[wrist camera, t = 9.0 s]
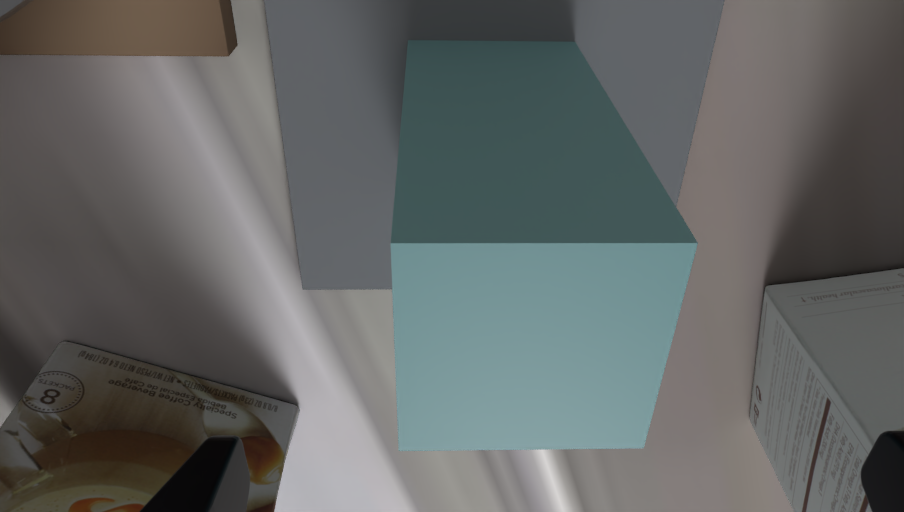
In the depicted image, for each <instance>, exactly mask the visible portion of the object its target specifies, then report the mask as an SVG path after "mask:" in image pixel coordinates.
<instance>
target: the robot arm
mask: <svg viewBox="0 0 904 512" xmlns="http://www.w3.org/2000/svg"><path fill="white" fill-rule="evenodd" d="M861 483H862V486H863V489H864V492H865V495H866V497H867V500H868V503H869V505H870V508H871V511H872V512H904V431H885V432H883V433H881V434H880V435H879V437H878V438H877V440H876V442H875V443H874V445H873V447H872V449H871V451H870V453H869V454H868V456H867V458H866V460H865V462H864V463H863V465H862V468H861ZM249 490H250V473H249V469H248V464H247V460H246V456H245V451H244V447H243V443H242V440H241V439H240V437H238V436H235V435H220V436H211V437H209V438H207V439H206V440H205V441H204V442H203V443H202V444H201V445H200V446H199V447H198V448H197V449H196V451H195V452H194V453H193V454H192V455H191V456H190V457H189V458H188V459H187V460H186V461H185V462H184V464H183V465H182V466H181V467H180V468H179V469H178V470H177V471H176V472H175V473H174V474H173V475H172V477H171V478H170V479H169V480H168V481H167V482H166V483H165V484H164V485H163V486H162V487H161V488H160V490H159V491H158V492H157V493H156V494H155V495H154V496H153V497H152V498H151V499H150V500H149V501H148V503H147V504H146V505H145V506H144V507H143V508H142V509H141V510H140V511H139V512H246V509H247V503H248V496H249Z"/></svg>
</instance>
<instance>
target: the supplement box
mask: <svg viewBox="0 0 904 512" xmlns="http://www.w3.org/2000/svg"><path fill="white" fill-rule="evenodd" d="M750 422H751V424H752V426H753V428H754V430H755V432H756V434H757V437H758V439H759V441H760V443H761V445H762V447H763V449H764V451H765V453H766V455H767V457H768V459H769V461H770V463H771V465H772V467H773V469H774V471H775V473H776V476H777V478H778V480H779V482H780V484H781V486H782V488H783V490H784V492H785V494H786V496H787V498H788V500H789V502H790V504H791V506H792V508H793V510H794V512H872V511H871V508H870V505H869V503H868V500H867V497H866V495H865V492H864V489H863V486H862V483H861V468H862V465H863V463H864V462H865V460H866V458H867V456H868V454H869V453H870V451H871V449H872V447H873V445H874V443H875V442H876V440H877V438H878V437H879V435H880V434H881V433H883V432H885V431H904V268H901V269H895V270H888V271H881V272H874V273H866V274H858V275H851V276H845V277H835V278H829V279H822V280H813V281H804V282H796V283H787V284H777V285H769V286H766V288H765V293H764V300H763V306H762V313H761V324H760V330H759V339H758V348H757V356H756V364H755V373H754V381H753V390H752V400H751V407H750Z"/></svg>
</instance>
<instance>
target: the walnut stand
mask: <svg viewBox="0 0 904 512" xmlns="http://www.w3.org/2000/svg"><path fill="white" fill-rule="evenodd" d="M236 46H237V38H236V32H235V26H234V20H233V13H232V7H231V1H230V0H33V1H32V2H30V3H29V4H28V5H26V6H25V7H23V8H22V9H21V10H19V11H18V12H16V13H15V14H14V15H12V16H11V17H9V18H8V19H6V20H4V21H2V22H0V55H116V56H229V55H230V54H231V53H232V51H233V50H234V49H235V48H236Z"/></svg>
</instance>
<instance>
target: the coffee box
mask: <svg viewBox="0 0 904 512" xmlns="http://www.w3.org/2000/svg"><path fill="white" fill-rule="evenodd" d="M299 411H300V410H299V408H298V407H297V406H296V405H293V404H290V403H286V402H283V401H279V400H275V399H272V398H268V397H265V396H261V395H258V394H255V393H251V392H247V391H244V390H240V389H237V388H233V387H230V386H226V385H222V384H219V383H215V382H212V381H208V380H204V379H201V378H197V377H194V376H190V375H186V374H183V373H179V372H175V371H172V370H168V369H165V368H161V367H158V366H154V365H151V364H147V363H144V362H140V361H137V360H133V359H130V358H126V357H122V356H119V355H115V354H112V353H108V352H105V351H101V350H97V349H94V348H90V347H86V346H83V345H79V344H75V343H71V342H66V341H63V342H60V344H59V345H58V346H57V347H56V349H55V350H54V352H53V353H52V355H51V356H50V358H49V359H48V360H47V362H46V363H45V365H44V366H43V367H42V369H41V370H40V372H39V373H38V375H37V376H36V378H35V379H34V381H33V382H32V384H31V385H30V386H29V388H28V389H27V391H26V392H25V394H24V395H23V397H22V398H21V400H20V401H19V403H18V404H17V405H16V407H15V408H14V409H13V411H12V412H11V413H10V415H9V416H8V417H7V419H6V420H5V422H4V423H3V425H2V426H1V428H0V512H139V511H140V510H141V509H142V508H143V507H144V506H145V505H146V504H147V503H148V501H149V500H150V499H151V498H152V497H153V496H154V495H155V494H156V493H157V492H158V491H159V490H160V488H161V487H162V486H163V485H164V484H165V483H166V482H167V481H168V480H169V479H170V478H171V477H172V475H173V474H174V473H175V472H176V471H177V470H178V469H179V468H180V467H181V466H182V465H183V464H184V462H185V461H186V460H187V459H188V458H189V457H190V456H191V455H192V454H193V453H194V452H195V451H196V449H197V448H198V447H199V446H200V445H201V444H202V443H203V442H204V441H205V440H206V439H207V438H209V437H211V436H220V435H235V436H238V437H240V439H241V440H242V443H243V447H244V451H245V456H246V460H247V464H248V469H249V473H250V490H249V496H248V503H247V509H246V512H274V509H275V504H276V499H277V495H278V490H279V485H280V481H281V476H282V472H283V467H284V463H285V459H286V456H287V452H288V449H289V445H290V442H291V439H292V435H293V432H294V429H295V426H296V423H297V419H298V415H299Z"/></svg>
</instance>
